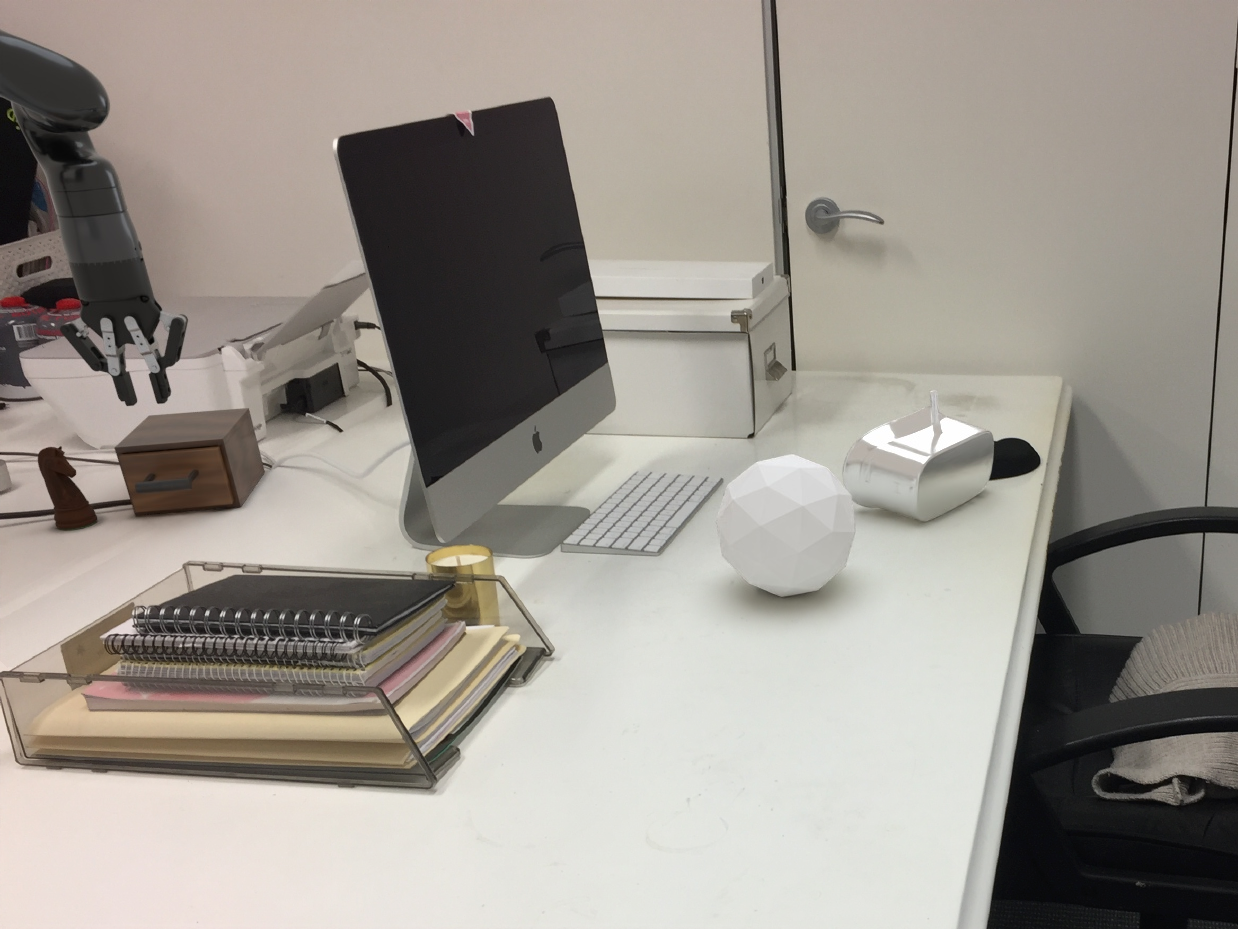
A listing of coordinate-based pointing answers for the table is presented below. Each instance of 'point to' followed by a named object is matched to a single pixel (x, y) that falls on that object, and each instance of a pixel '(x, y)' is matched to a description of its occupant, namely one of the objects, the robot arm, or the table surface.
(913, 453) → the vr headset
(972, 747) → the table surface
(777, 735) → the table surface
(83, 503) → the chess piece
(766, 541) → the geometric sphere
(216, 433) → the cabinet
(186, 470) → the drawer
